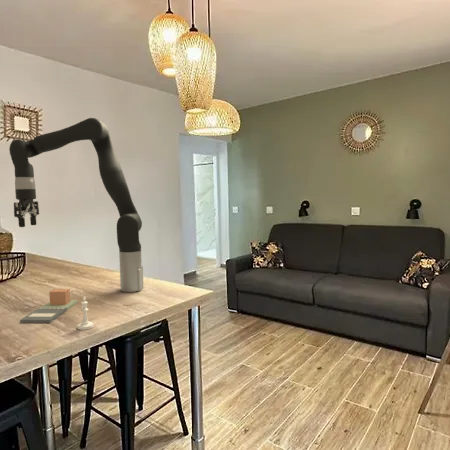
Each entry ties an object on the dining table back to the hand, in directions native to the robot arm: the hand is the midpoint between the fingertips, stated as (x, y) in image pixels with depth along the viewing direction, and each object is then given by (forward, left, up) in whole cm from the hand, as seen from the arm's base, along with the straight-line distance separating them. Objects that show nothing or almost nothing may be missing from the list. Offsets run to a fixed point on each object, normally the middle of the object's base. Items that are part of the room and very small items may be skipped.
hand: (28, 226), depth 151 cm
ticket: (-23, +32, -28) cm, 48 cm away
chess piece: (-41, +41, -28) cm, 64 cm away
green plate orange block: (-23, +21, -28) cm, 42 cm away
